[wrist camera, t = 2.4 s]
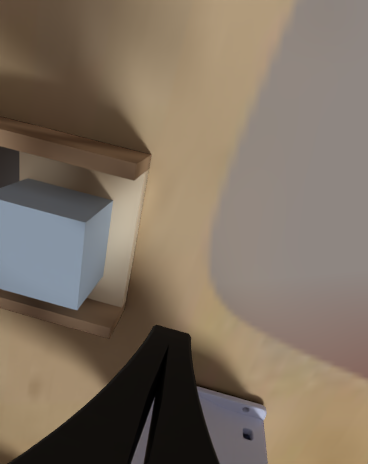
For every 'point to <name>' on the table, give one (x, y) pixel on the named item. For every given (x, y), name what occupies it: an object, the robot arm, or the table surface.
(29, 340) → the table surface
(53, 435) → the robot arm
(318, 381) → the table surface
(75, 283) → the block
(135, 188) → the lane
